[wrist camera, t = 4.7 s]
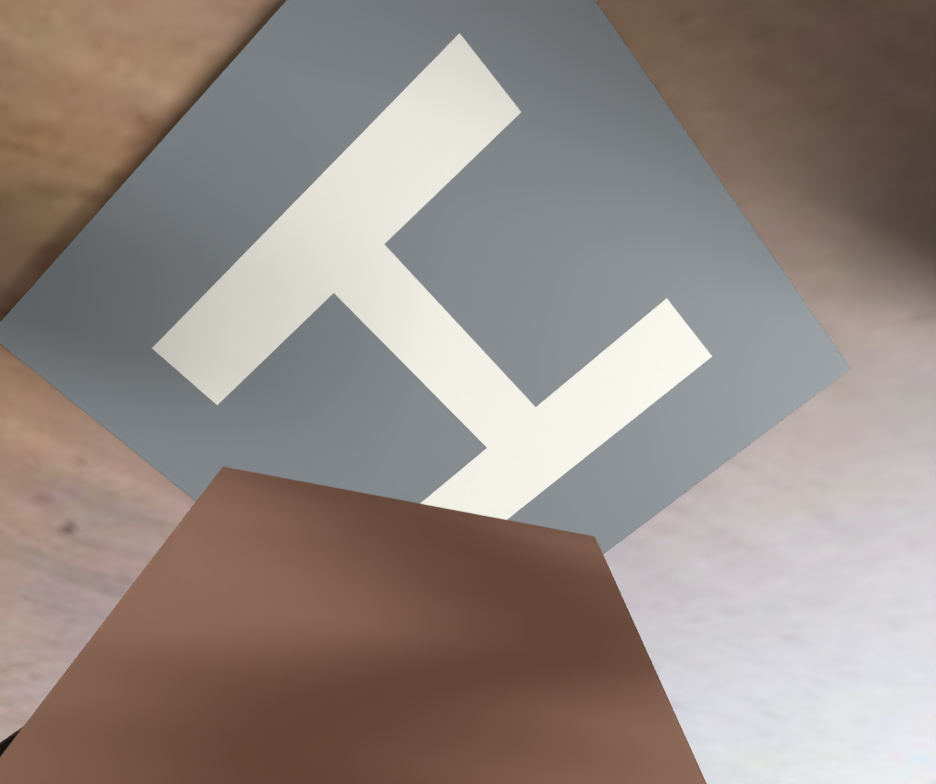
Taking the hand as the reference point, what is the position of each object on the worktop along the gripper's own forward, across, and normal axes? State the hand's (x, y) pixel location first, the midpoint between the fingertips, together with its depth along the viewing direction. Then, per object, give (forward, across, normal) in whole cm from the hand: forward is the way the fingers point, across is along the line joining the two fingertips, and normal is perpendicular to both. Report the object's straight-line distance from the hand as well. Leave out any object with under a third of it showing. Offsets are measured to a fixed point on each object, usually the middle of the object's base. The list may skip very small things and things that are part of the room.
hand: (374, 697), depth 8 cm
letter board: (+11, 0, -2) cm, 11 cm away
